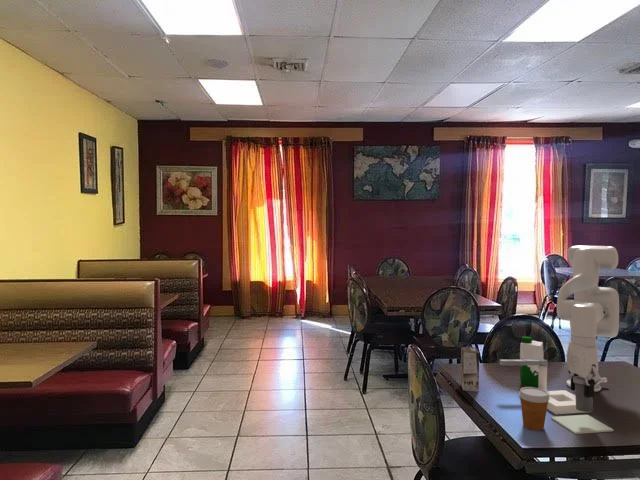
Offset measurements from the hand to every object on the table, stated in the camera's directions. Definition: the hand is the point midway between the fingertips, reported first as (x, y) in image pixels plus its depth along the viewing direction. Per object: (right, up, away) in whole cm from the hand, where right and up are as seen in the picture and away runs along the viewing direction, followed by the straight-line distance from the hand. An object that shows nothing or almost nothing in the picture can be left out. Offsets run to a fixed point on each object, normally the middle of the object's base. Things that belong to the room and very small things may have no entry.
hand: (582, 392), depth 156 cm
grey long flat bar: (-8, +2, +27) cm, 28 cm away
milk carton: (+1, -10, +40) cm, 41 cm away
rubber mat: (0, -11, +1) cm, 11 cm away
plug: (0, -5, -1) cm, 6 cm away
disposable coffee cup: (-17, -11, -1) cm, 20 cm away
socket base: (+1, -10, +20) cm, 23 cm away
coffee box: (-26, -10, +36) cm, 46 cm away
